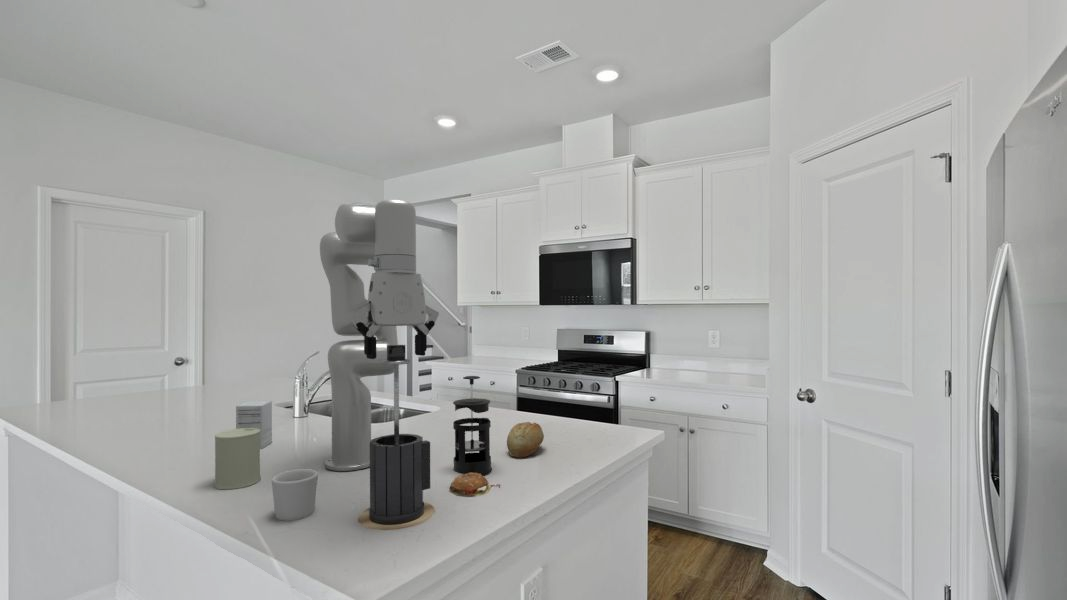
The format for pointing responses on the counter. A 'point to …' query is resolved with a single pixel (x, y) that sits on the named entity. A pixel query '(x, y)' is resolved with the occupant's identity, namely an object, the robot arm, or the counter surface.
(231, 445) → the can
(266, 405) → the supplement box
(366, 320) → the robot arm
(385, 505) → the dark slatted tankard
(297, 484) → the cup
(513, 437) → the bread roll
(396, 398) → the plunger
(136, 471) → the counter surface
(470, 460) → the french press
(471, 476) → the hamburger
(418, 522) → the trivet
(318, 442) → the counter surface
